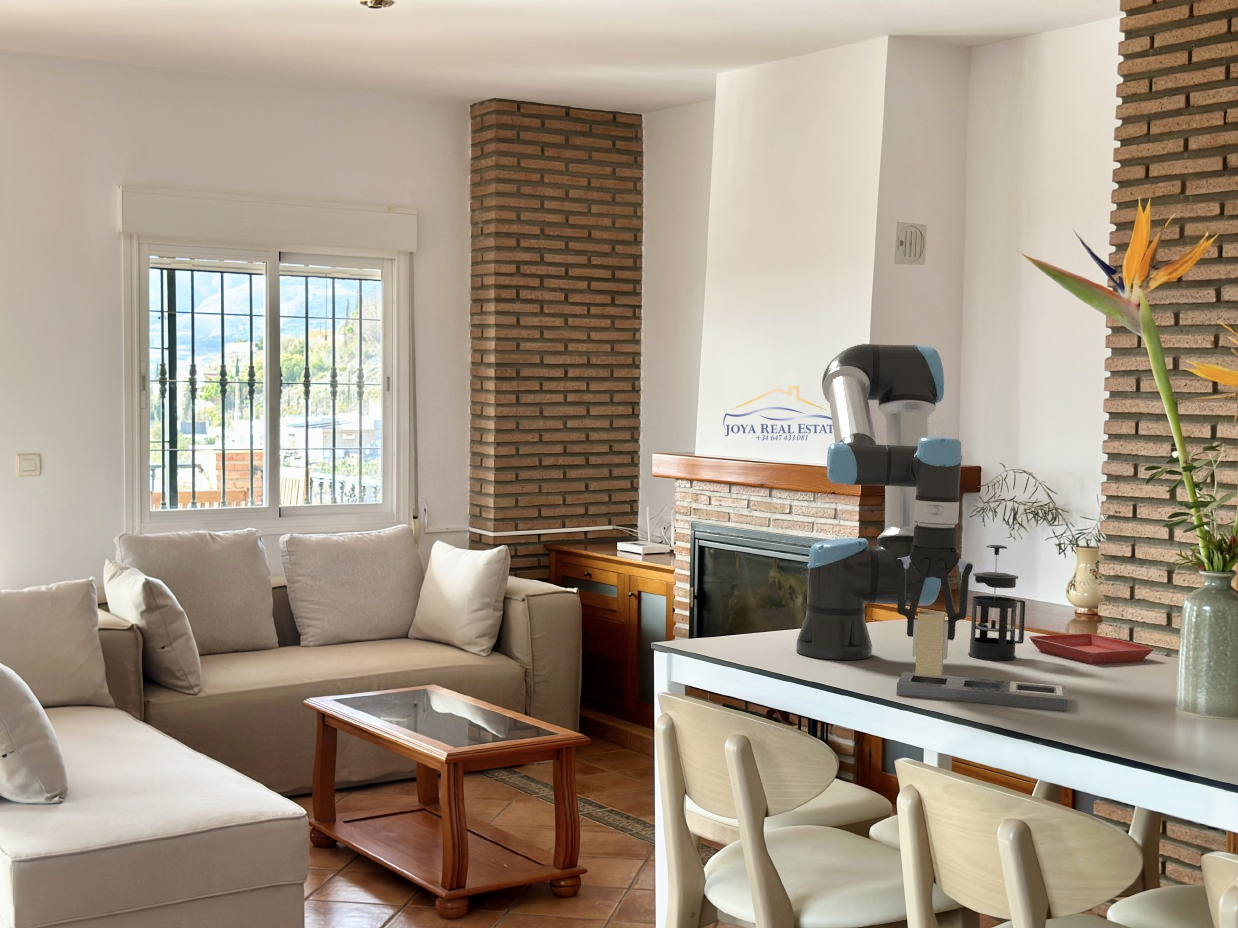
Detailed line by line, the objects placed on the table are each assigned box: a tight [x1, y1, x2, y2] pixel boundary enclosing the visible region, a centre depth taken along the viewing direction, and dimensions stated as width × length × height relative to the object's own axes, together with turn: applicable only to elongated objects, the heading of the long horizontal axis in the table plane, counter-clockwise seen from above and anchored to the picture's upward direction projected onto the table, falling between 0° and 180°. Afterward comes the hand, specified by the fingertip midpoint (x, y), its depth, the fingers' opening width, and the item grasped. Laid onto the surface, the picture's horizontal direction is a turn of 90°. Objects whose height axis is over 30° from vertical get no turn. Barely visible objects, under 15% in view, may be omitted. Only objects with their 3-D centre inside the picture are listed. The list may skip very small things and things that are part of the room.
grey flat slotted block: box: [896, 671, 1068, 712], centre depth 231 cm, size 28×12×2 cm, turn 73°
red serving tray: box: [1028, 633, 1155, 665], centre depth 278 cm, size 18×18×3 cm
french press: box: [968, 544, 1026, 662], centre depth 272 cm, size 12×9×23 cm
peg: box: [914, 609, 946, 678], centre depth 234 cm, size 4×4×11 cm
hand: (929, 656), depth 234 cm, fingers closed on peg, 4 cm apart
